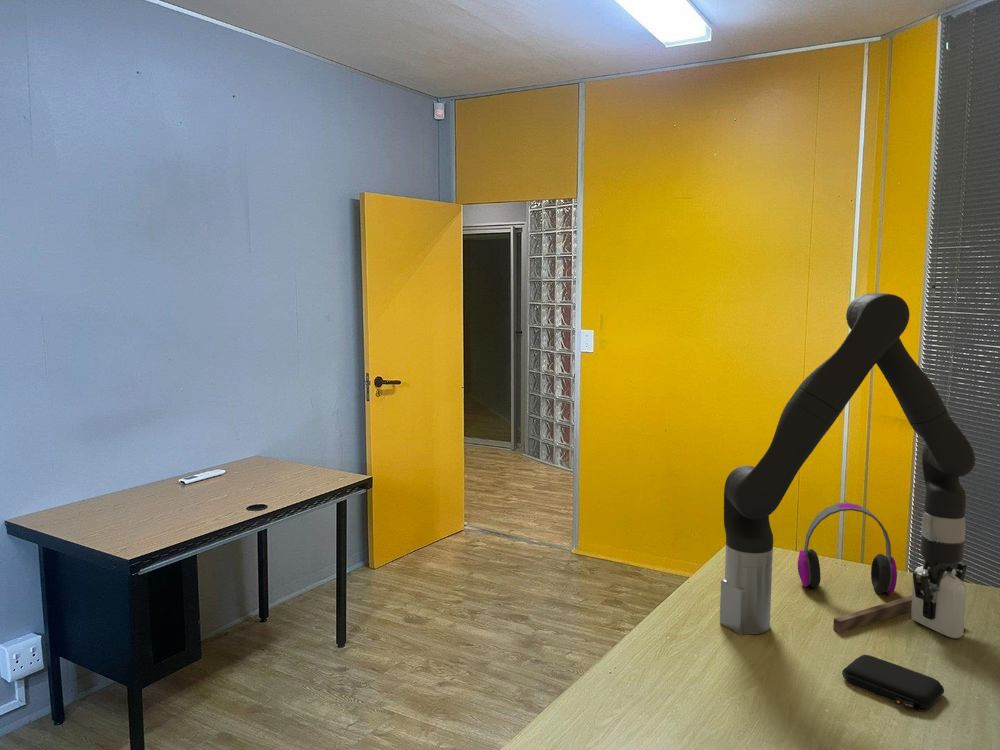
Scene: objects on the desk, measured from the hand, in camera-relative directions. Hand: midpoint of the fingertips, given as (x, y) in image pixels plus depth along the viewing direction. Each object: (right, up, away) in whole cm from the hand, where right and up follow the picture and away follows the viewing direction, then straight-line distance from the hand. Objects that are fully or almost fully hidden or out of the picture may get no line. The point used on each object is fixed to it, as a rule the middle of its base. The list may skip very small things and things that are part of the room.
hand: (936, 614), depth 152 cm
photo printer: (0, -3, 0) cm, 3 cm away
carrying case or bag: (-21, -7, -21) cm, 30 cm away
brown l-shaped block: (-8, -3, +1) cm, 8 cm away
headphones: (-9, -1, +20) cm, 22 cm away
